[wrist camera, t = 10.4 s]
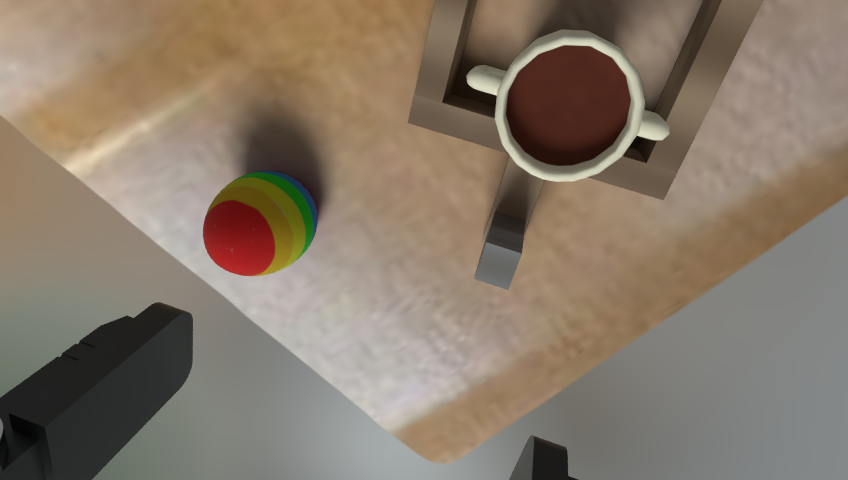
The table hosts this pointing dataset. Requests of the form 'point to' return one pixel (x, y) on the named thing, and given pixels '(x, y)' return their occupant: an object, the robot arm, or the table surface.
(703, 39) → the frame
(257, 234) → the decorative egg
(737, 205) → the table surface
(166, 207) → the table surface
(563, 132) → the character mug
